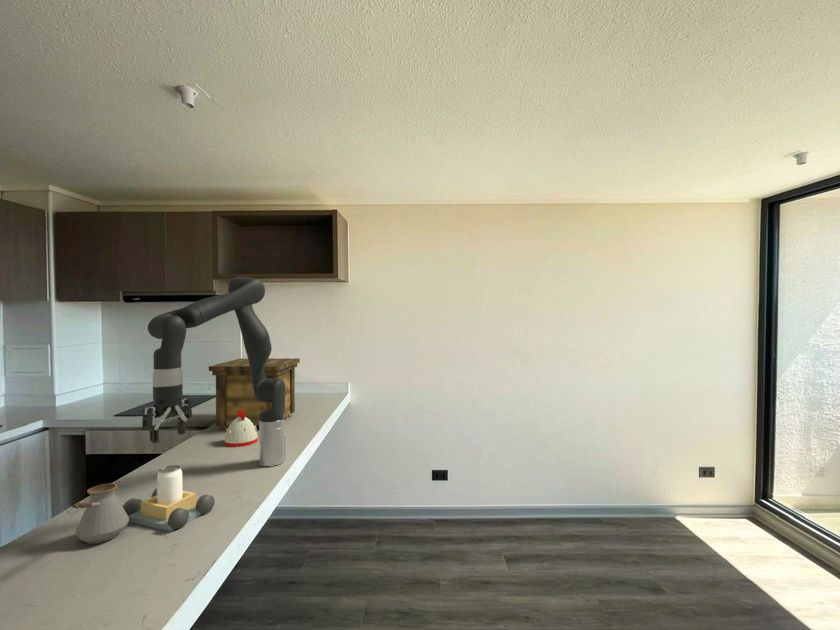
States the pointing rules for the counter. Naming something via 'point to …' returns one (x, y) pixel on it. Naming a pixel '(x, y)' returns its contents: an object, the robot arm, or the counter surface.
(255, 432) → the kitchen timer
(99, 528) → the coffee pot
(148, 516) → the chassis
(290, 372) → the crate
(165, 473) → the can
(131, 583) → the counter surface
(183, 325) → the robot arm
